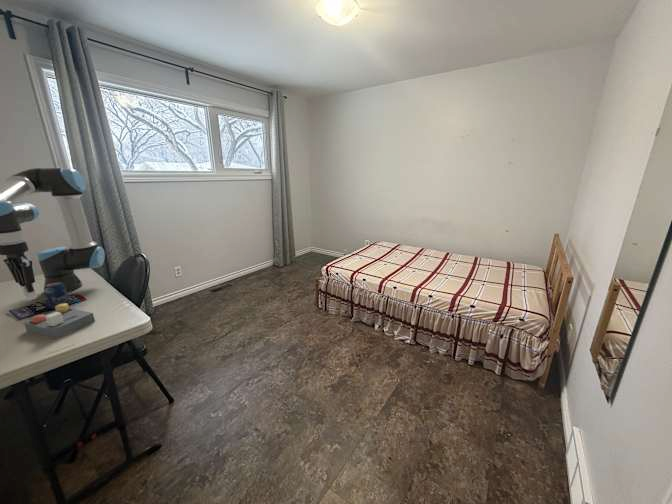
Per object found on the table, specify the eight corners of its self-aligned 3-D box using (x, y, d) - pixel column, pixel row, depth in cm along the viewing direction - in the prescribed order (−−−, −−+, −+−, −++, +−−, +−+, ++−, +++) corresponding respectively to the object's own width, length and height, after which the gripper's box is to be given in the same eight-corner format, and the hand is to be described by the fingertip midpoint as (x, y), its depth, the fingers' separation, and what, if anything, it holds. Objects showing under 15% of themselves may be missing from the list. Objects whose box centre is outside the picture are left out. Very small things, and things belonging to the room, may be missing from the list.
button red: (30, 324, 110) (28, 318, 109) (43, 319, 113) (41, 313, 113) (37, 326, 109) (34, 319, 108) (49, 321, 112) (47, 315, 111)
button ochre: (54, 312, 117) (52, 306, 116) (65, 308, 120) (63, 302, 120) (60, 314, 116) (58, 308, 115) (71, 309, 119) (69, 303, 118)
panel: (27, 331, 110) (23, 322, 109) (68, 314, 123) (65, 306, 122) (54, 339, 105) (51, 330, 104) (95, 321, 118) (92, 312, 117)
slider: (48, 325, 107) (44, 316, 106) (59, 320, 110) (56, 311, 109) (53, 326, 106) (50, 317, 105) (64, 321, 109) (61, 313, 108)
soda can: (58, 310, 127) (50, 287, 123) (46, 309, 128) (38, 286, 125) (74, 303, 133) (67, 281, 130) (63, 302, 134) (56, 280, 131)
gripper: (-14, 243, 100) (9, 300, 107) (6, 246, 96) (29, 305, 103) (14, 239, 106) (34, 292, 113) (34, 241, 103) (54, 297, 110)
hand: (31, 299), depth 108 cm, fingers closed
